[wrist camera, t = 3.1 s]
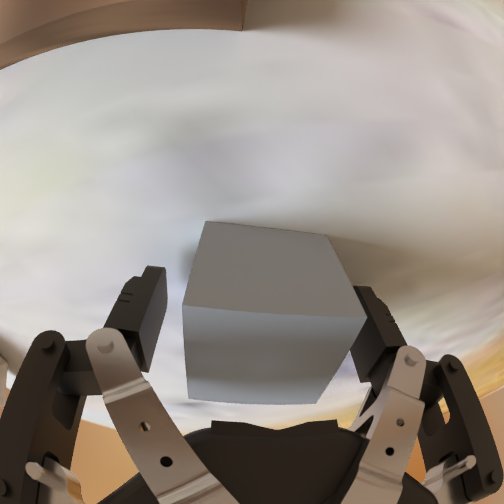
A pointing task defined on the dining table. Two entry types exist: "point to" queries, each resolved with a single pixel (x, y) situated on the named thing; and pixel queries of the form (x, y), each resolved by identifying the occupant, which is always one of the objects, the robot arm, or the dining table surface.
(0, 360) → the die
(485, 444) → the robot arm
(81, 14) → the walnut block
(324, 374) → the slate cube
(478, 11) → the dining table surface
